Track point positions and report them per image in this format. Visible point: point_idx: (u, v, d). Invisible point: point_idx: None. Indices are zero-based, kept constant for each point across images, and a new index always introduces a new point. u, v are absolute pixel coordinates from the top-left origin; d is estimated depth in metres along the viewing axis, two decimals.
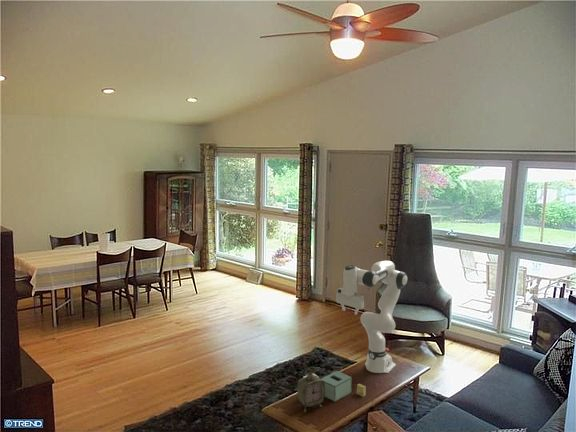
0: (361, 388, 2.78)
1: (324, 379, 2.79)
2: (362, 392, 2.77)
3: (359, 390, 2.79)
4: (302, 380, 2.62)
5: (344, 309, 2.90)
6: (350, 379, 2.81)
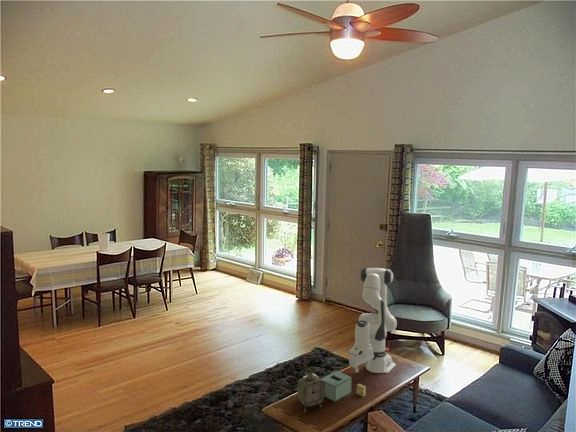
0: (361, 388, 2.78)
1: (324, 379, 2.79)
2: (362, 392, 2.77)
3: (359, 390, 2.79)
4: (302, 380, 2.62)
5: None
6: (350, 379, 2.81)
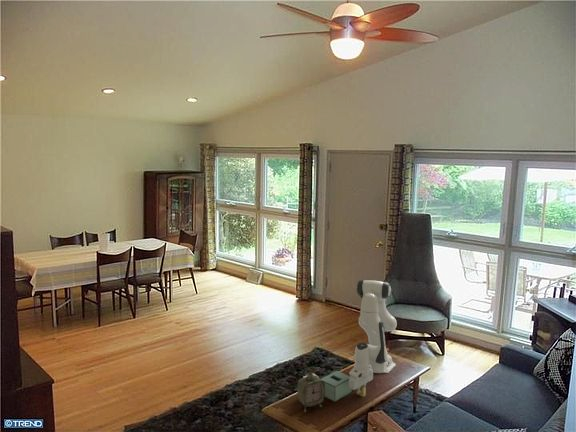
0: (361, 388, 2.78)
1: (324, 379, 2.79)
2: (362, 392, 2.77)
3: None
4: (302, 380, 2.62)
5: None
6: None
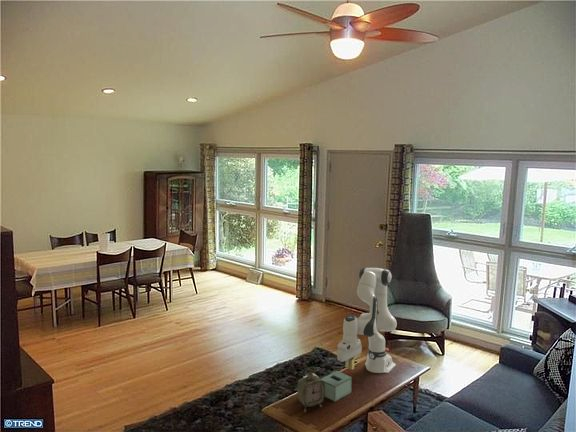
0: (350, 361, 2.76)
1: (324, 379, 2.79)
2: (350, 365, 2.76)
3: None
4: (302, 380, 2.62)
5: None
6: (350, 379, 2.81)
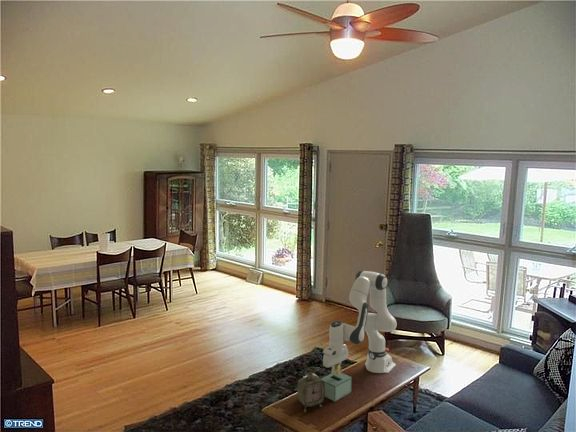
0: (336, 366, 2.78)
1: (324, 379, 2.79)
2: (336, 371, 2.77)
3: None
4: (302, 380, 2.62)
5: None
6: (350, 379, 2.81)
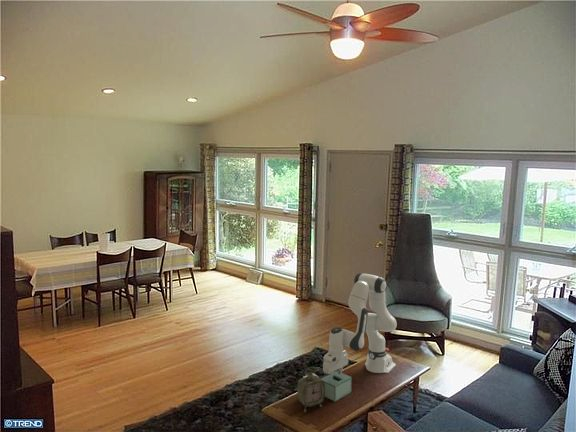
0: None
1: (324, 379, 2.79)
2: None
3: None
4: (302, 380, 2.62)
5: None
6: (350, 379, 2.81)
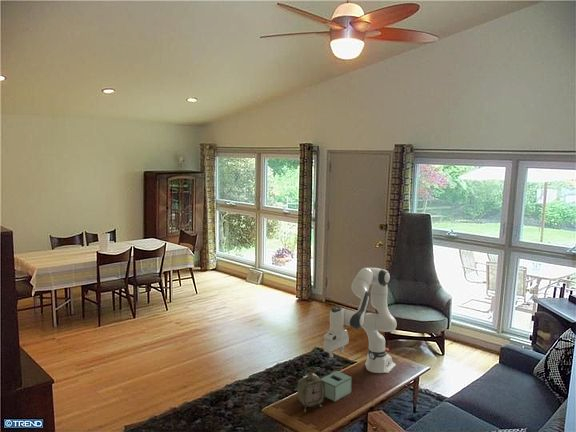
0: None
1: (324, 379, 2.79)
2: None
3: None
4: (302, 380, 2.62)
5: None
6: (350, 379, 2.81)
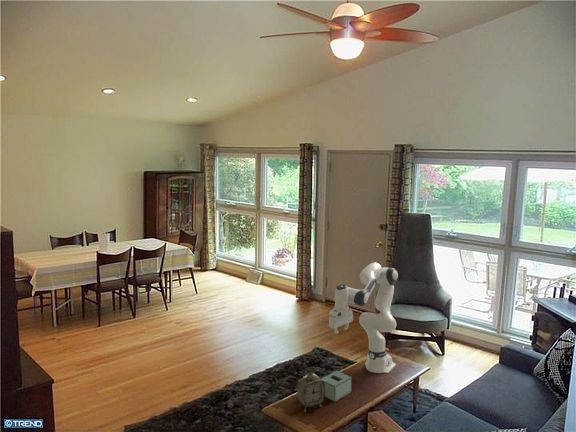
0: None
1: (324, 379, 2.79)
2: None
3: None
4: (302, 380, 2.62)
5: None
6: (350, 379, 2.81)
